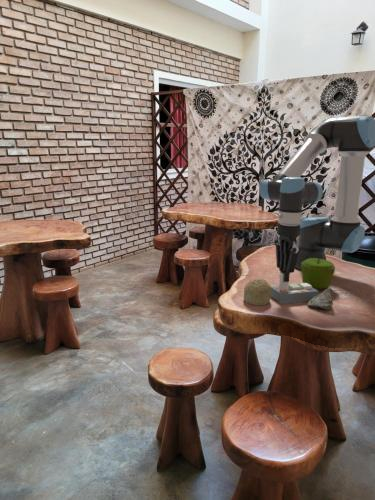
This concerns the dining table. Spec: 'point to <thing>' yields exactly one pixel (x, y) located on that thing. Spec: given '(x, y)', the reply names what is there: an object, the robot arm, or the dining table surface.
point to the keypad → (293, 295)
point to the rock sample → (322, 300)
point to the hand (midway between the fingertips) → (283, 289)
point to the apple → (317, 272)
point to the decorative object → (257, 292)
